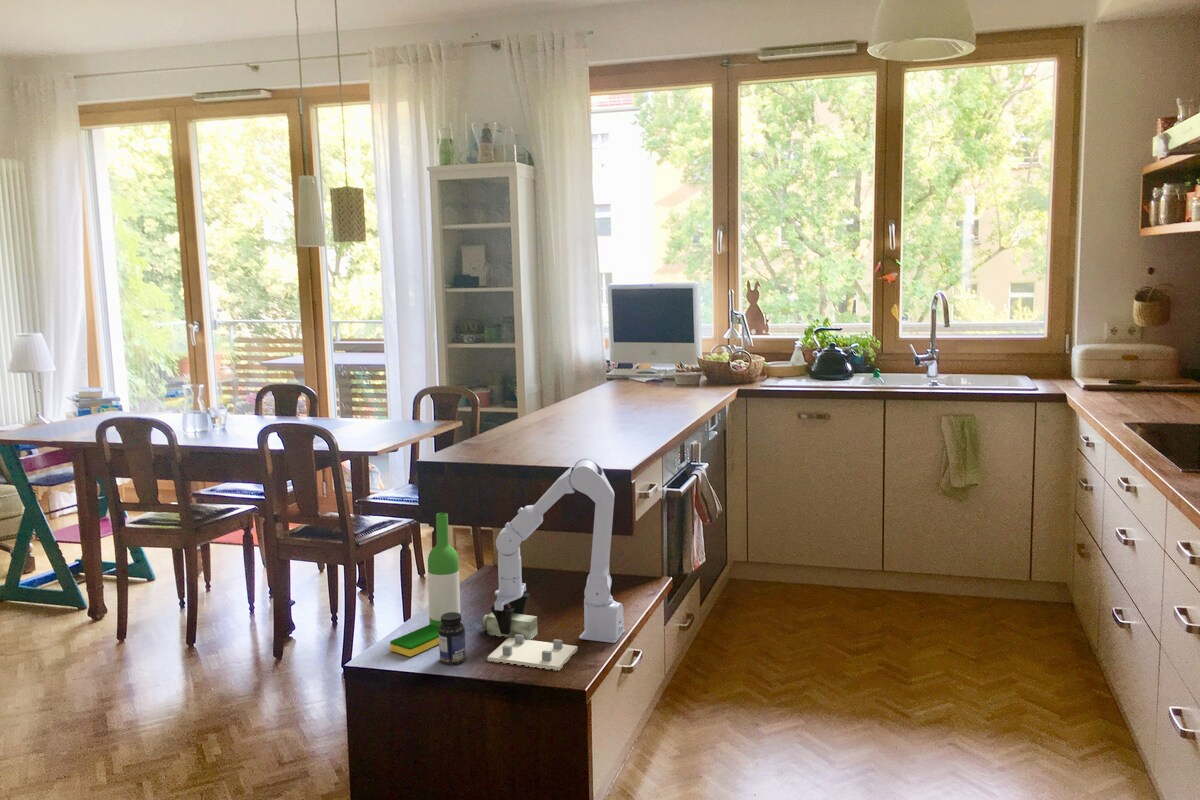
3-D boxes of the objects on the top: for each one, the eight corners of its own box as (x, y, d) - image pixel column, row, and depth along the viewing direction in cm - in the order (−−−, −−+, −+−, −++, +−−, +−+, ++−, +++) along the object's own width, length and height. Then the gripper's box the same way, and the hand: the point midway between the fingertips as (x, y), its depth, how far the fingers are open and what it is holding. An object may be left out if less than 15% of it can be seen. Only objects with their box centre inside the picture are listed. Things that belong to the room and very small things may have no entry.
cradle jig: (577, 650, 234) (577, 638, 234) (559, 670, 223) (558, 658, 222) (508, 641, 240) (508, 629, 239) (487, 660, 229) (487, 648, 228)
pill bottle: (467, 654, 233) (465, 610, 231) (464, 665, 227) (463, 620, 225) (441, 655, 232) (439, 611, 231) (438, 666, 226) (436, 621, 225)
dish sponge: (389, 650, 235) (389, 641, 235) (430, 632, 246) (430, 623, 246) (410, 657, 231) (410, 647, 230) (451, 639, 242) (451, 629, 242)
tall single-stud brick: (537, 635, 244) (537, 616, 243) (530, 641, 240) (530, 622, 239) (489, 628, 249) (488, 609, 248) (481, 634, 245) (481, 615, 244)
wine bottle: (424, 632, 245) (420, 516, 241) (438, 622, 253) (434, 509, 249) (452, 636, 243) (449, 519, 239) (465, 625, 250) (462, 511, 246)
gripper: (507, 564, 250) (509, 615, 252) (482, 583, 236) (484, 636, 238) (532, 567, 247) (534, 618, 249) (509, 586, 234) (510, 640, 236)
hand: (511, 627), depth 244 cm, fingers open, 7 cm apart
